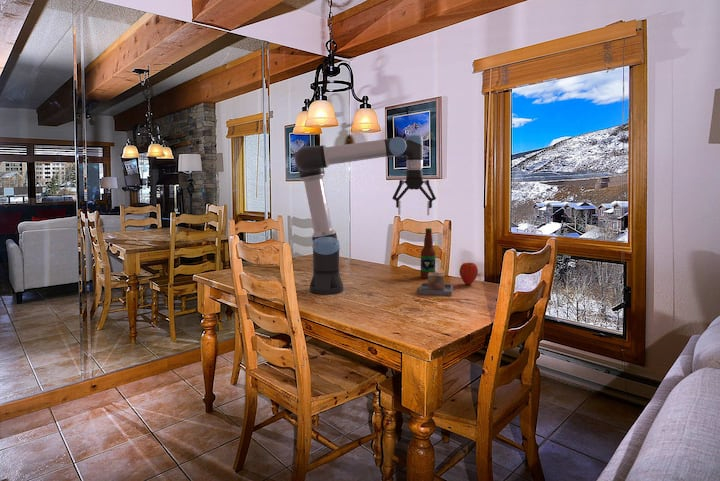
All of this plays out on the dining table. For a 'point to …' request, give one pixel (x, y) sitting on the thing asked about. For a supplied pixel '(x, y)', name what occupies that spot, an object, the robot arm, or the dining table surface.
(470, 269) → the apple
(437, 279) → the walnut cube
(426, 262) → the bottle
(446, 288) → the slate tray
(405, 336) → the dining table surface
